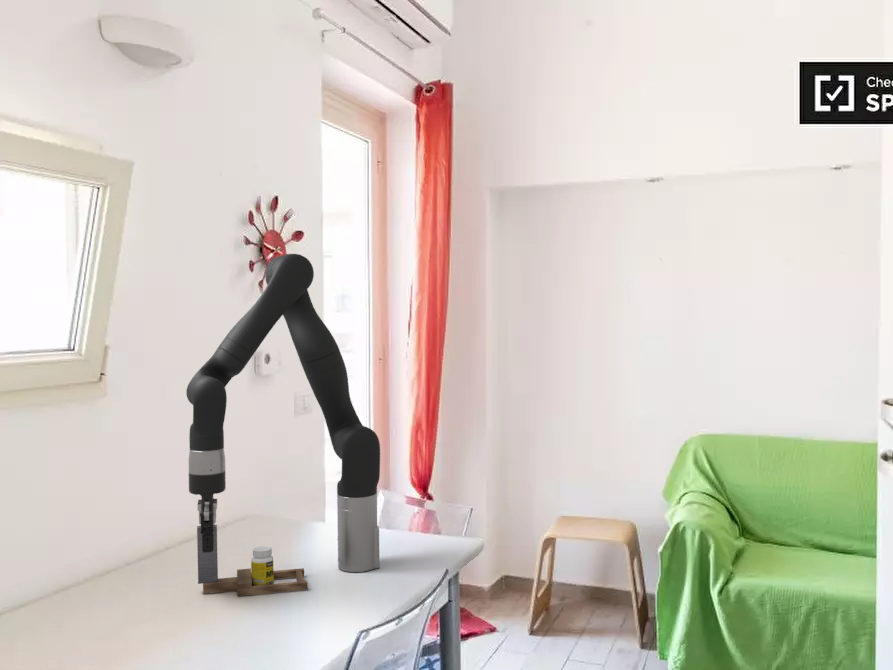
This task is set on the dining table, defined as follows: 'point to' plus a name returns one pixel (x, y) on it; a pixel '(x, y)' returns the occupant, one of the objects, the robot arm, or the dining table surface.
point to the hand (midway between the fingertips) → (208, 549)
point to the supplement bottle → (262, 566)
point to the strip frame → (240, 575)
